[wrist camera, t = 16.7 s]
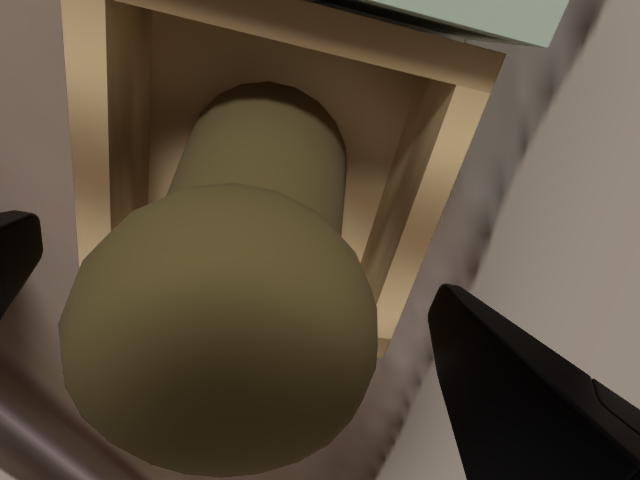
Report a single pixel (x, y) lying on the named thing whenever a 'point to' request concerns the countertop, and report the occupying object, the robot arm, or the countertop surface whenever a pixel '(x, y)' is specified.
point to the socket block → (288, 69)
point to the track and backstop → (466, 18)
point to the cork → (228, 299)
